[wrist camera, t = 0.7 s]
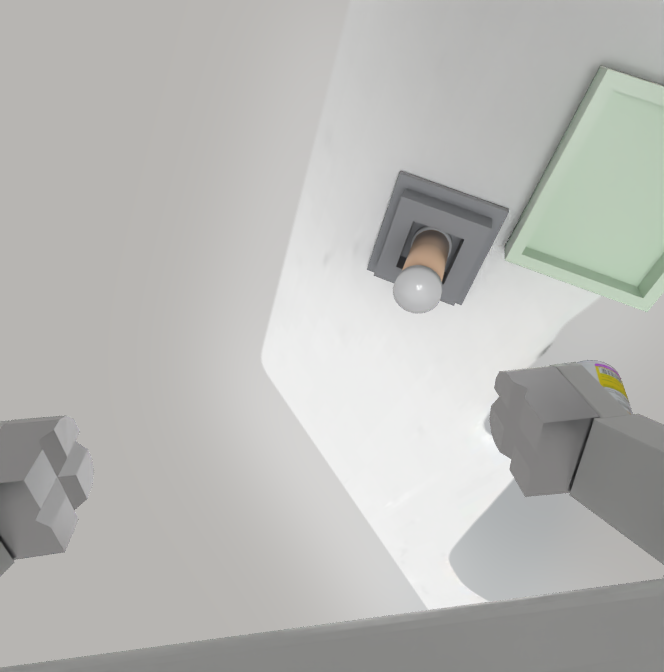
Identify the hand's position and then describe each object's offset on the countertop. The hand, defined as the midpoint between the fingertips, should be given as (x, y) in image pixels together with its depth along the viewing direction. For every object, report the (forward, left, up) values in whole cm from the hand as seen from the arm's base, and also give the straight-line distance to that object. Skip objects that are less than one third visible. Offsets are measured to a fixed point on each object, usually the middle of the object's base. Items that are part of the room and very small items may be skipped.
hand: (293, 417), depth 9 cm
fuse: (+14, +3, -44) cm, 47 cm away
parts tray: (+3, +18, -45) cm, 49 cm away
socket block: (+14, +3, -45) cm, 48 cm away
